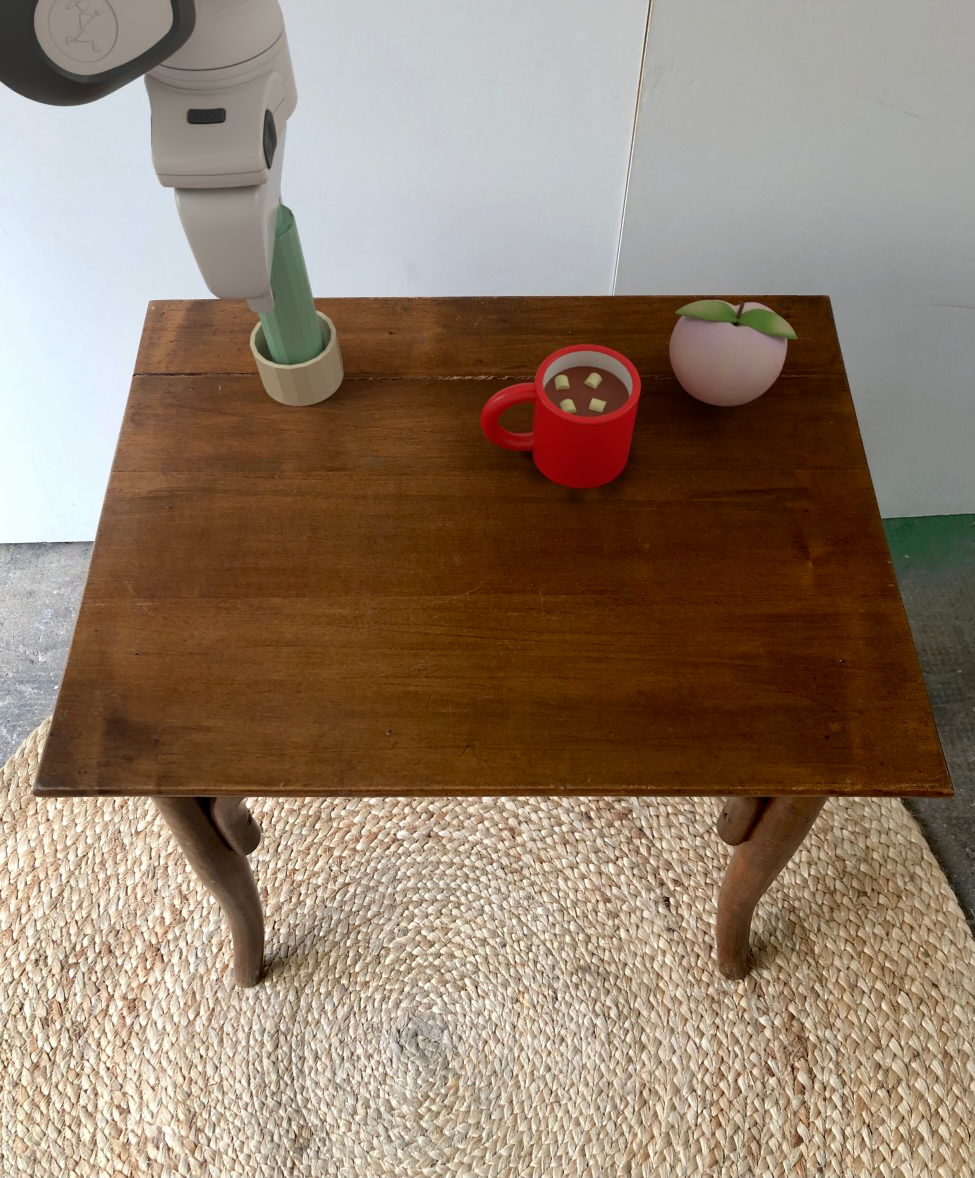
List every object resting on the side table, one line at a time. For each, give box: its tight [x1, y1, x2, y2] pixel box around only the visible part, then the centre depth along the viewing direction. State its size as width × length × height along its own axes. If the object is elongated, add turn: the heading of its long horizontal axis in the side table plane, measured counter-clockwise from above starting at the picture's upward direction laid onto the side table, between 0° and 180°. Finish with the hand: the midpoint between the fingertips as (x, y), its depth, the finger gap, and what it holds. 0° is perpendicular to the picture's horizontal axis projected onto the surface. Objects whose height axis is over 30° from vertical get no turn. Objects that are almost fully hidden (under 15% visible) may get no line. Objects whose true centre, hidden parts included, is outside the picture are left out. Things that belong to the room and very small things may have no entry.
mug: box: [479, 343, 642, 489], centre depth 70 cm, size 8×12×8 cm, turn 95°
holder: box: [249, 309, 345, 407], centre depth 76 cm, size 7×7×4 cm
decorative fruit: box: [668, 299, 798, 407], centre depth 72 cm, size 9×8×10 cm
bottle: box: [257, 203, 325, 365], centre depth 69 cm, size 4×4×19 cm
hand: (268, 261), depth 68 cm, fingers open, 8 cm apart
